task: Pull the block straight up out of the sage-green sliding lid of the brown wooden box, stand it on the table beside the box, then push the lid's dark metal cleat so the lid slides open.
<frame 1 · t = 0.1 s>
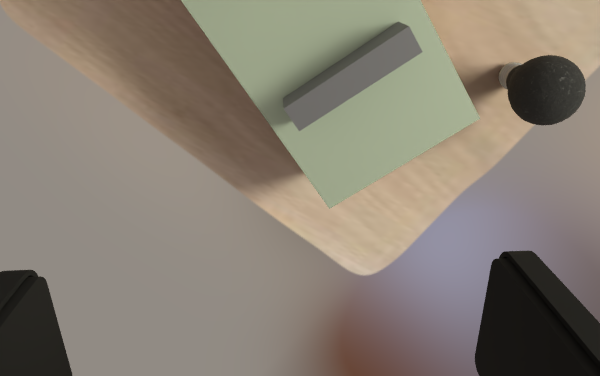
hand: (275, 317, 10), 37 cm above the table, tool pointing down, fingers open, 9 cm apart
lid: (318, 26, 33), point 10 cm above the table, slide at 0.0 cm
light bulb: (506, 73, 46), on the table
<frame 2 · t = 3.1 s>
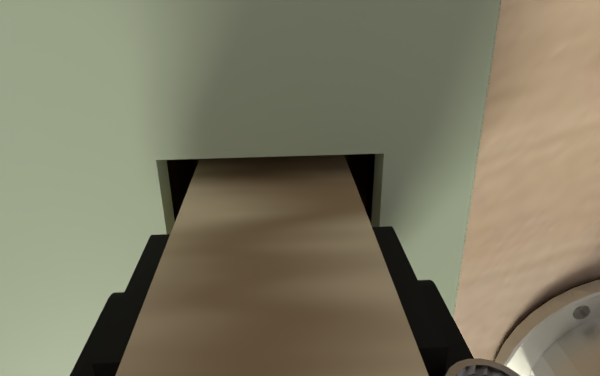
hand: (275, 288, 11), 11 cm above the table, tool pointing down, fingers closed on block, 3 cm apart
brown wooden box: (87, 144, 21), on the table
block: (274, 185, 16), point 5 cm above the table, touching gripper, brown wooden box
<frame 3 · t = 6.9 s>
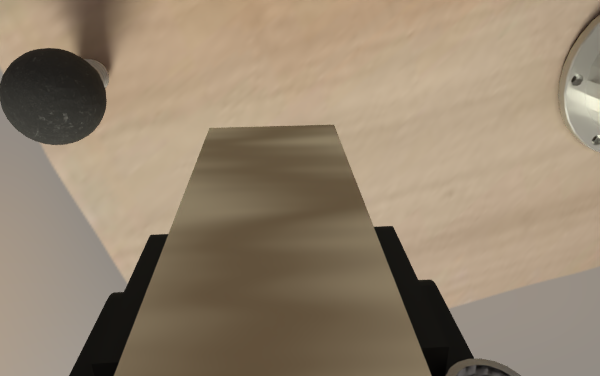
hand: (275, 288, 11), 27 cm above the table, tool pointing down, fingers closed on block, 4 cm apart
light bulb: (96, 73, 35), on the table
block: (274, 183, 16), point 21 cm above the table, touching gripper
when the fingers open (7 cm above the table, at t = 10.7 s): block drops 1 cm, on the table.
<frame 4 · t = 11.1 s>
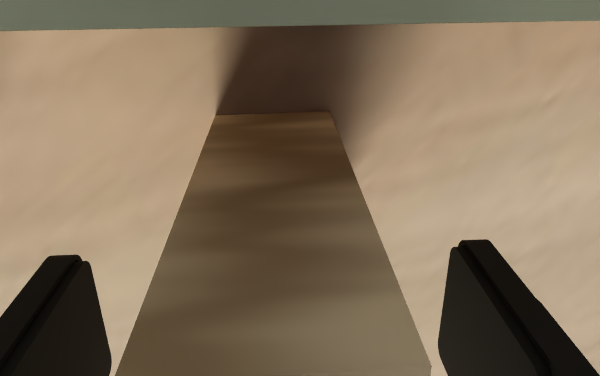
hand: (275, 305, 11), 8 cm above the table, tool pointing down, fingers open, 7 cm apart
block: (275, 166, 18), on the table
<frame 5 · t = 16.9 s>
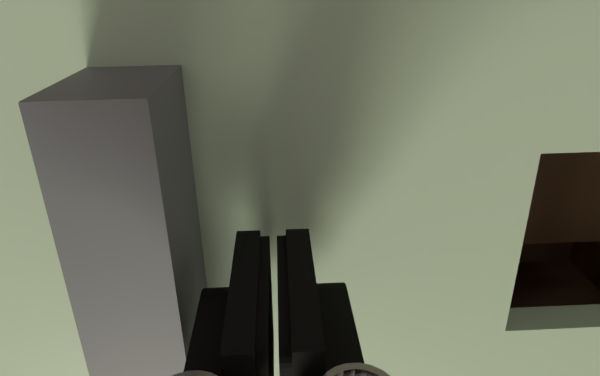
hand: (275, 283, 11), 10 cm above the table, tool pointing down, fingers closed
brown wooden box: (316, 141, 21), on the table
lid: (324, 280, 12), point 10 cm above the table, slide at 0.6 cm, touching gripper
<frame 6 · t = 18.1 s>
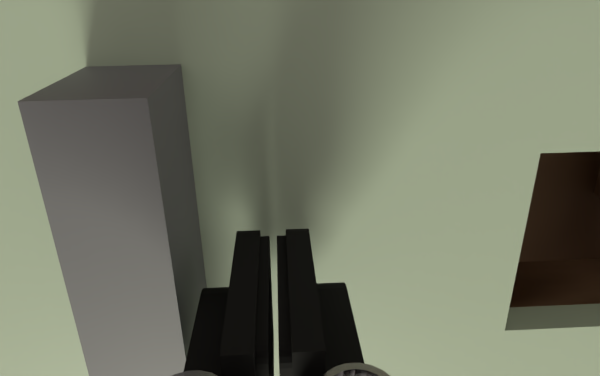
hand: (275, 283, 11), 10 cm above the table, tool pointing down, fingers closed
brown wooden box: (471, 136, 21), on the table
lid: (323, 280, 12), point 10 cm above the table, slide at 7.5 cm, touching gripper
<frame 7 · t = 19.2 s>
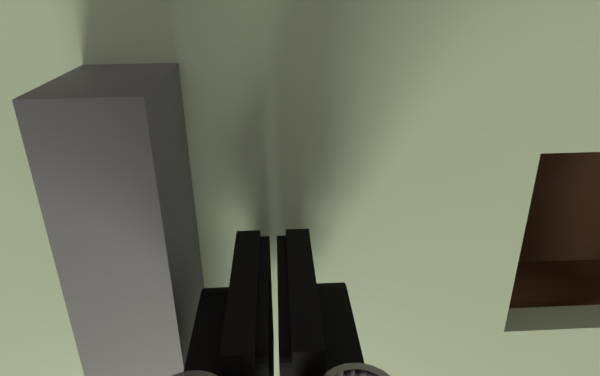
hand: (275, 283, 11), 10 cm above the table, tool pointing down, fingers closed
brown wooden box: (546, 134, 21), on the table
lid: (322, 281, 11), point 10 cm above the table, slide at 10.9 cm
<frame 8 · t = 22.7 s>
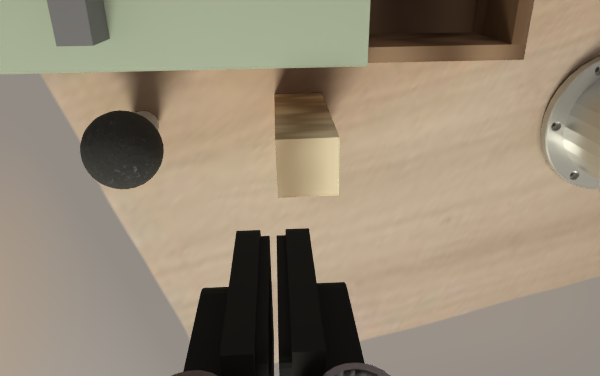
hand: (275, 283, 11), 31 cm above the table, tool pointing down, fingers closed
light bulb: (147, 121, 41), on the table
block: (298, 116, 42), on the table
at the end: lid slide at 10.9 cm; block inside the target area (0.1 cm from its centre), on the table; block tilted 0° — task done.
